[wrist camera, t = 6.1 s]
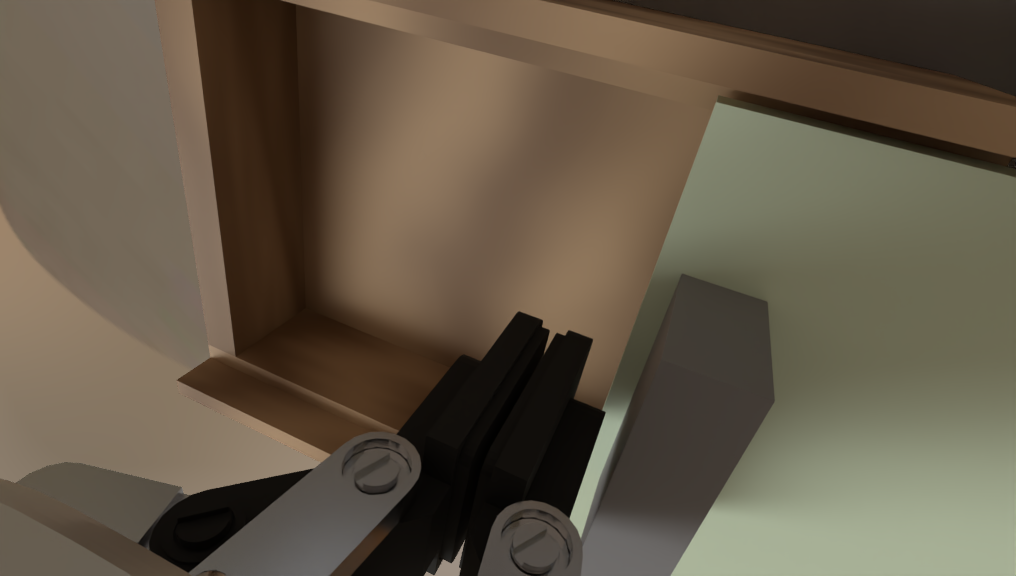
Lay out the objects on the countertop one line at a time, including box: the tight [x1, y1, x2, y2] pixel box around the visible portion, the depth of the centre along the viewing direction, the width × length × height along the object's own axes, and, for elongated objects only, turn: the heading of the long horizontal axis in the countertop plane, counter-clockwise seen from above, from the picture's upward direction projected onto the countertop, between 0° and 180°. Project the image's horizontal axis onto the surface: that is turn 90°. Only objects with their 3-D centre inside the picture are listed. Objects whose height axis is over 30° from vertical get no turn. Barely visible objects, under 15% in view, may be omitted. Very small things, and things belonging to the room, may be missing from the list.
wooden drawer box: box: [155, 0, 1016, 463], centre depth 15 cm, size 18×14×6 cm
